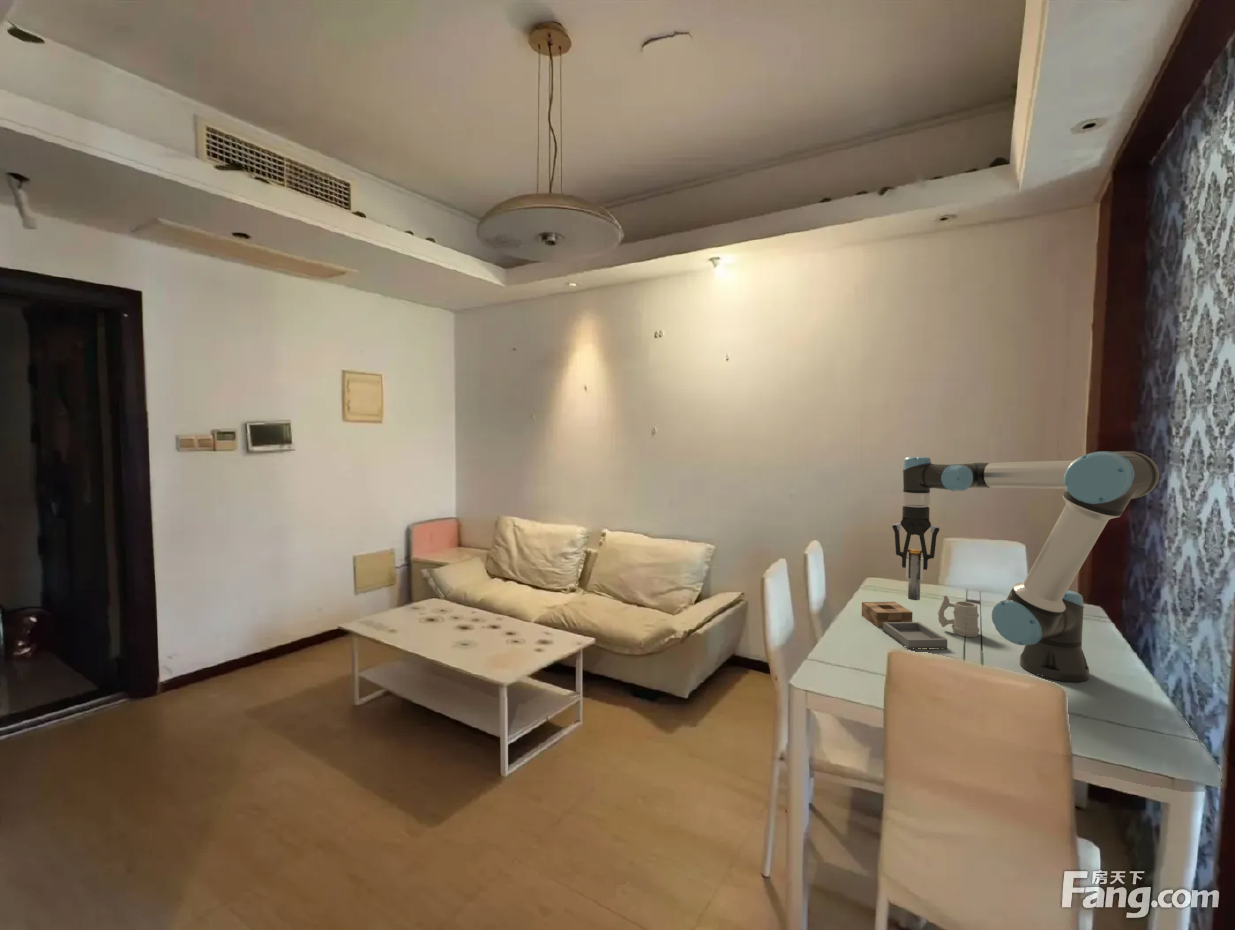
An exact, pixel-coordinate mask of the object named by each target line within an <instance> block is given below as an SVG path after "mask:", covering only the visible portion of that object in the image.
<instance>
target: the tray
mask: <svg viewBox="0 0 1235 930" xmlns="http://www.w3.org/2000/svg"><path fill="white" fill-rule="evenodd" d="M882 632H883V633H885V634H886V635H887V636H888V637H890V638H891V639H893V640H894V641H896V642H897V643H898V644H900V645H903V647H904V646H906V647H904V648H905V649H906V648H907V650H908V649H911V650H914V651H915V649H918V648H921V649H922V648H927V649H926V650H930V649H929V648H939V649H938V650H942V649H941V648H944V649H943V650H947V649H948V639H947V638H945V637H944V636H942V635H941V634H939V633H938V632H936V631H934V630H933V629H931V628H930V627H928V626H927V625H925V624H923V623H922V622H920V621H912V622H883V627H882ZM913 648H914V649H913Z"/></svg>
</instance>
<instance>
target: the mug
mask: <svg viewBox="0 0 1235 930" xmlns="http://www.w3.org/2000/svg"><path fill="white" fill-rule="evenodd" d="M942 599H943V600H942V602H941V605H940V607H939V609H938V611H937V615H938V618H937V619H938V622H939V624H940V625H941V627H942V628H945V627H946V626H948V625H951V629H952V632H953V634H954V635H957V636H960V637H967V638H976V637H978V636H979V632H980V628H979V625H978V624H979V623H978V622H979V619H978V618H979V616H980V614H979V612H978V605H977V604H976V603H974V602H970V601H963V600H961V601H959V600H958V601H954V602H950V599H949V597H948V596H947V595H946V594H944V595H943V598H942ZM949 607H950V608H954V609H953V611H952V614H953V618H948V619H947V618H946V617H945V611H946V610H947V609H948V608H949Z"/></svg>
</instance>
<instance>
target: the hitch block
mask: <svg viewBox="0 0 1235 930" xmlns="http://www.w3.org/2000/svg"><path fill="white" fill-rule="evenodd" d="M861 617H863V618H864V619H866V620H867V621H868V622H870V623H871V624H873V626H875V627H877V628H883V622H913V611H912V610H910V609H908V608H906V607H904V606H903V605H901V604H900V603H898V602H896V601H861Z"/></svg>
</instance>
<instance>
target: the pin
mask: <svg viewBox="0 0 1235 930" xmlns="http://www.w3.org/2000/svg"><path fill="white" fill-rule="evenodd" d="M907 553H908V557H909V578H908V579H907V599H908V600H911V601H920V600H921V580H920V567H921V558H922V549H919V548H908V552H907Z"/></svg>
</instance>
